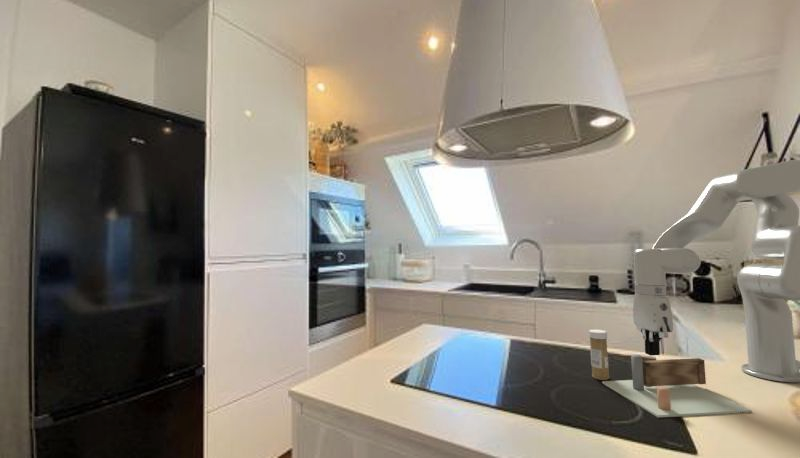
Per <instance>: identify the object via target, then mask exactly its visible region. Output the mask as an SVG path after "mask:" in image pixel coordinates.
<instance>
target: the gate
mask: <svg viewBox="0 0 800 458" xmlns="http://www.w3.org/2000/svg"><path fill="white" fill-rule="evenodd" d="M642 365H643V381H644V386H646V387H652V386H669V385H689V384H693V385H707V382H706V380H707V378H706V368H705V367H706V365H705V359H702V358H699V357H697V358H694V357H693V358H679V359H678V358H677V359H673V358H672V359H657V360H655V359H654V360H650V359H649V360H642Z"/></svg>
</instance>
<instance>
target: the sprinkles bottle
mask: <svg viewBox="0 0 800 458" xmlns="http://www.w3.org/2000/svg"><path fill="white" fill-rule="evenodd" d="M588 335H589V342H590V343H589V345H590V365H591V376H592V378H593V379H595V380H599V381H609V380H610V377H611V376H610V374H609V373H610V371H609V356H608V345H607V343H608V340H607V339H608V333H607V331H606V330H604V329H603V330H602V329H590V330H588Z"/></svg>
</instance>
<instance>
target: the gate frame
mask: <svg viewBox="0 0 800 458" xmlns="http://www.w3.org/2000/svg"><path fill="white" fill-rule="evenodd" d="M630 359H631V372H632V373H631V377H632V379H627V380H626V379H624V380H601V381H602V382H601V383H602V384H603V385H604V386H606V387H608V388H610V389H611V390H613V391H614V392H615V393H618V394H620V395H621V396H622V397H624V398H625V399H627V400H629V401H630V402H632V403H633V404H635V405H637V406H638V407H640V408H641V409H643V410H645V411H647V412H648V413H650V414H651V415H653V416H654V417H656V418H659V419H660V418H675V417H694V416H709V415H710V416H711V415H713V416H714V415H730V414H729V413H733V414H743V413H742V412H751V413H753V410H752V409H750V408H748V407H745V406H743V405H740V404H738V403H736V402H735V401H732V400H730V399H727V398H725V397H722V396H721V395H718V394H716V393H713V392H711V391H709V390H707V389H704V388H703V387H700V386H697V384H689V385H669V386H652V387H646V386H644V381H643V365H642V361H643V356H642V355H639V354H631V355H630ZM740 412H741V413H740Z"/></svg>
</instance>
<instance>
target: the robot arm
mask: <svg viewBox="0 0 800 458" xmlns="http://www.w3.org/2000/svg"><path fill="white" fill-rule="evenodd" d="M799 191H800V159H791V160H786V161H785V160H784V161H781V162H777V163H773V164H768V165H763V166H756V167H750V168H746V169H741V170H737V171H733V172H728V173H725V174H720V175H718V176H715V177H714V178H712V179H711V180H710V181H709V183H708V184H707V185H706V187H705V188H704V190H703V191H702V192H701V194H700V195H699V197H698V198H697V200H696V201H695V203H694V204H693V205H692V207H691V208H690V209H689V211H688V212H687V213H686V215H684V216H682V218H681V219H678V221H677V222H675V223H674V224H673V225H672V226H670V227H668V229H666V230H665V231H664V232H663V233H662V234H661V235H660V236H659V237H658V239H657V240H656V241H655V243H654V244H653V246H652V247H651V248H637V249H635V250H634V252H633V277H634V278H633V280H634V298H633V308H632V309H633V311H632V313H633V314H632V315H633V317H632V318H633V324H634V325H635V326H636V330H638V331H640V333H641V334H642V338H643V340H644V353H645V354H646V355H649V356H660V354H661V351H660V350H661V348H660V343H661V342H662V339H668V338H669V333H673V331H674V323H673V313H672V308H671V303H670V299H669V297H668V296H667V284H666V281H667V279H666V273H669V274H670V273H671V274H677V275H688V274H692V273H694V272H696V271H697V270H698V269H699V268H700V266H701V263H702V261H701V257H700V255H699V254H698V253H697V252H696V251H694V250H692V249H689V248H686V246H688V245H689V244H690V243H692V242H694V241H695V240H699V239H700V238H702V237H705V236H708V235H710V234H712V233H715V232H716V231H718V230H719V229H720V228H721V227H722V226H723V225H724V224H725V222H726V220H727V219H728V218H729V216H730V215H731V213H732V212H733V211H734V209H735V207H736V206H737V205H738V203H741V202H743V201H748V200H751V201H752V203H753V204H754V206H755V208H756V219H755V222H754V223H755V224H754V228H753V234H752V237H751V241H750V242H751V245H750V249H751V252H752V253H753V255H755V257H758V258H760V259H765V260H773V261H783V264H780V263H763V262H762V263H761V262H760V263H757V262H756V263H751V264H747V265H745V266H744V267H742V268H741V269H739V271H738V273H737V277H736V280H737V285H738V289H739V291H740V294H741V297H742V302H743V311H744V323H745V333H746V334H745V335H746V337H745V338H746V349H747V359H748V361H747V362H748V363H744V364H742V365H741V370H742V372H744V373H746V374H748V375H750V376H752V377H757V378H760V379H764V380H768V381H775V382H781V383H800V360H797V359H796V358H797V357H796V347H795V336H794V325H793V323H794V322H793V321H794V320H793V315H792V314H793V313H792V310H791V307H790V306H789V304H788V302H787V301H792V302H793V301H794V302H800V225H799V221H800V220H799V219H800V208H799V206H798V204H797V203H796V201H795V200H794V198H792V197H791V196H790V195H789V194H788V193H794V192H799Z"/></svg>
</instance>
